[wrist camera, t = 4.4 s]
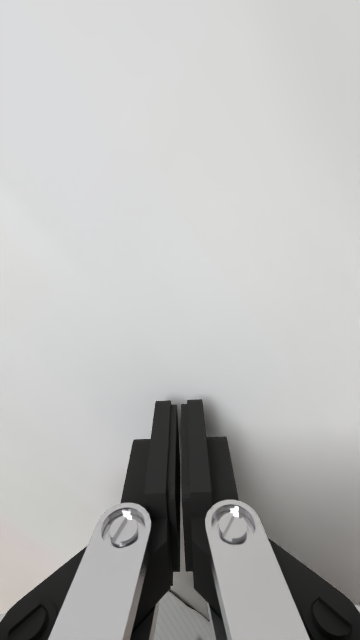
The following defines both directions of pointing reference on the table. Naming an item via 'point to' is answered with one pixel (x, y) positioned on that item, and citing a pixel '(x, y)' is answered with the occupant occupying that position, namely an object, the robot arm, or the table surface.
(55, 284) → the table surface
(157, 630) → the hard drive box
